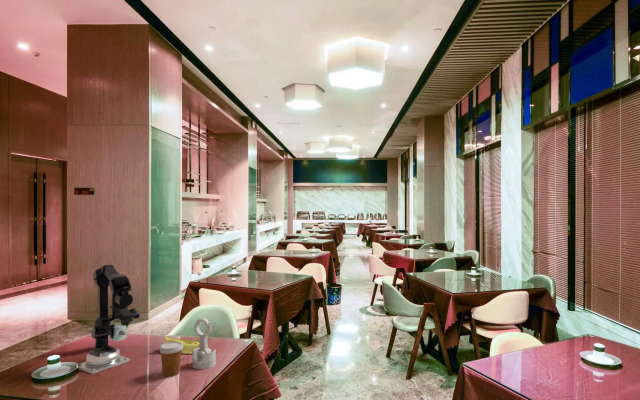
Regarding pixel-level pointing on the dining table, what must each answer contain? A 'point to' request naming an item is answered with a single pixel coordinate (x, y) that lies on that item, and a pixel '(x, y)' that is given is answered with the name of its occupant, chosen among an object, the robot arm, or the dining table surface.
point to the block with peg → (119, 333)
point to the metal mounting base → (102, 359)
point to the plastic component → (185, 344)
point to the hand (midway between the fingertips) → (117, 336)
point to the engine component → (203, 348)
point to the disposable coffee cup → (171, 358)
